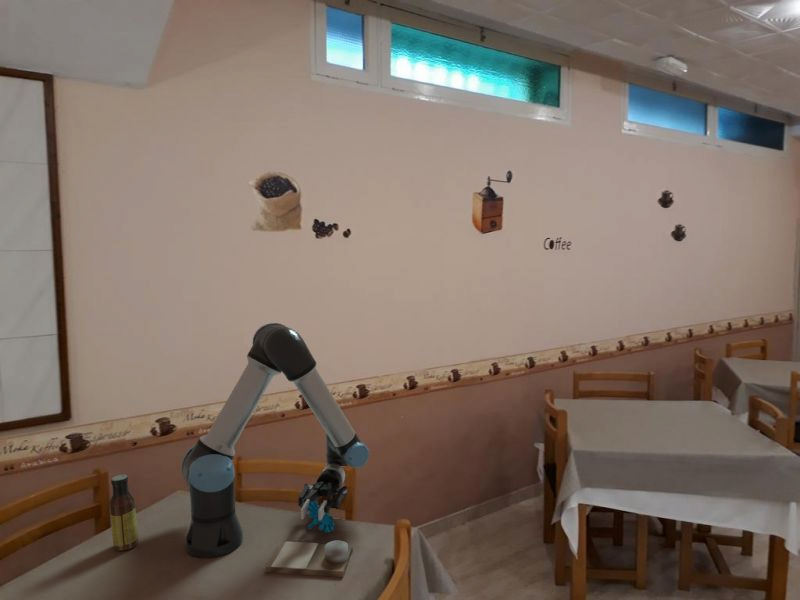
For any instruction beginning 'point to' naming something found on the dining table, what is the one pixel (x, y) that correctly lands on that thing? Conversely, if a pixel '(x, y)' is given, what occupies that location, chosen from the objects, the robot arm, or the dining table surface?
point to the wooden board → (310, 558)
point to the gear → (325, 520)
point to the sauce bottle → (123, 515)
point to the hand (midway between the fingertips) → (310, 514)
